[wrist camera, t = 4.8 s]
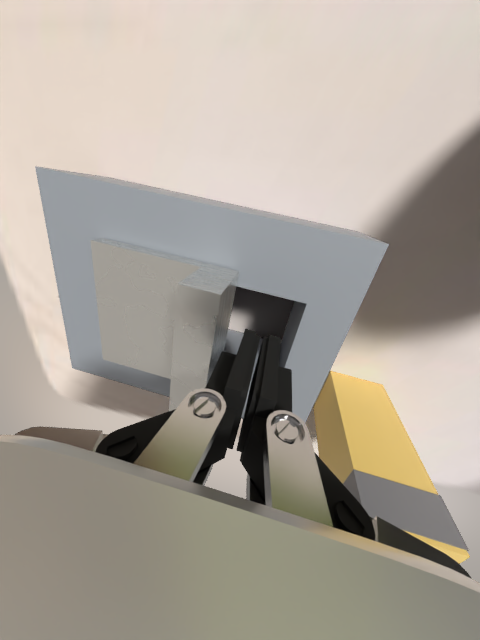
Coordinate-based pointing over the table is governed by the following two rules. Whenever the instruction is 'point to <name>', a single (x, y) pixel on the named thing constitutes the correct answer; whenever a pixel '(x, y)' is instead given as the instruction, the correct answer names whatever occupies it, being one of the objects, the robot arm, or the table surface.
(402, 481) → the plug
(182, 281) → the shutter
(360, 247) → the socket board
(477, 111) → the table surface
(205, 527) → the robot arm
